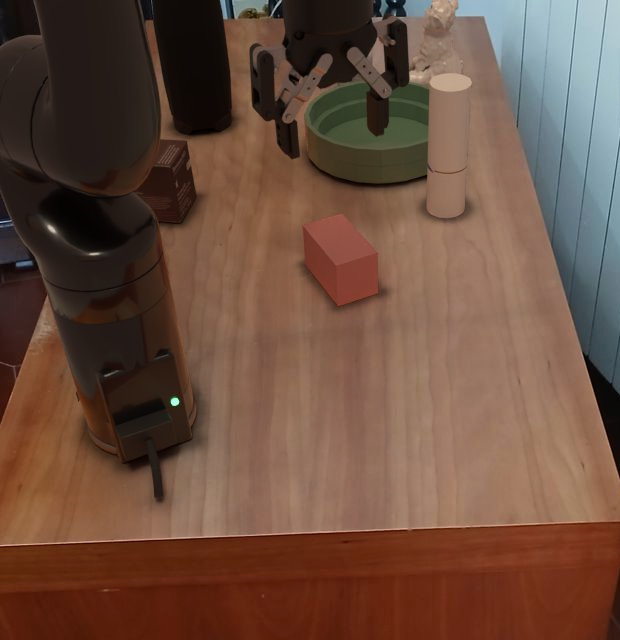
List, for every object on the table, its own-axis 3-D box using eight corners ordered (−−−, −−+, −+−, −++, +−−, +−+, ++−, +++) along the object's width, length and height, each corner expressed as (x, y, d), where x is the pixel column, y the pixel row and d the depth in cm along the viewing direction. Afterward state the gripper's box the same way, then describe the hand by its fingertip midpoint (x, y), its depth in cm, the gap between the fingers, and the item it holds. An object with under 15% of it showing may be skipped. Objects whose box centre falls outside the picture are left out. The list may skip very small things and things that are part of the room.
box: (180, 224, 103) (170, 167, 99) (130, 220, 104) (117, 163, 100) (197, 196, 108) (188, 139, 103) (149, 192, 109) (138, 136, 104)
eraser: (378, 293, 92) (377, 252, 89) (338, 306, 91) (335, 265, 88) (343, 253, 98) (342, 213, 95) (305, 265, 97) (302, 224, 93)
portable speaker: (227, 101, 126) (209, -46, 113) (242, 132, 119) (225, -22, 107) (165, 112, 124) (139, -37, 112) (177, 144, 118) (151, -11, 105)
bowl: (482, 163, 111) (484, 125, 108) (346, 202, 106) (345, 163, 102) (409, 103, 124) (409, 68, 120) (284, 136, 118) (281, 99, 115)
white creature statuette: (416, 64, 133) (418, -20, 125) (473, 73, 130) (478, -13, 122) (391, 92, 127) (390, 4, 119) (450, 102, 124) (454, 13, 116)
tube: (472, 206, 104) (480, 80, 94) (448, 222, 102) (454, 95, 92) (442, 193, 106) (447, 69, 96) (418, 209, 104) (421, 83, 94)
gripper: (260, -7, 69) (278, 182, 80) (426, -42, 73) (422, 142, 84) (226, -36, 74) (247, 145, 85) (382, -67, 79) (384, 109, 89)
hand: (334, 143), depth 85 cm, fingers open, 8 cm apart
